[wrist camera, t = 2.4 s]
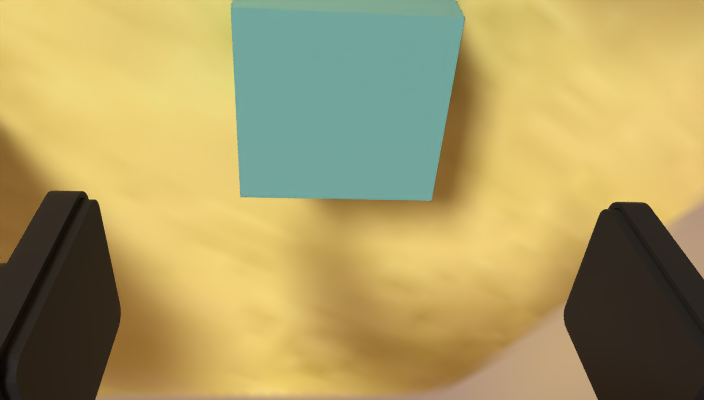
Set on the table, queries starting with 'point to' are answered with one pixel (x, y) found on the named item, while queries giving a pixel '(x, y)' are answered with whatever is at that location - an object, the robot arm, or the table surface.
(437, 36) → the teal block
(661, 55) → the table surface
